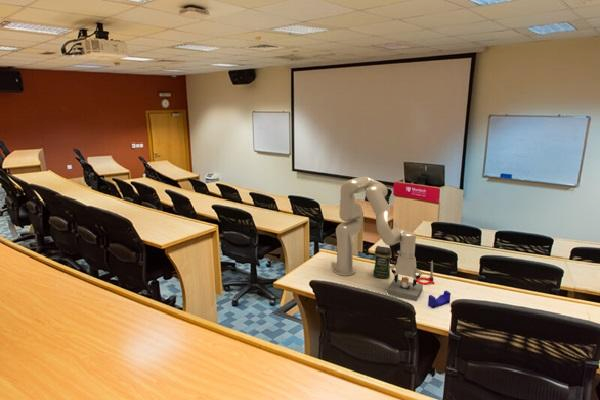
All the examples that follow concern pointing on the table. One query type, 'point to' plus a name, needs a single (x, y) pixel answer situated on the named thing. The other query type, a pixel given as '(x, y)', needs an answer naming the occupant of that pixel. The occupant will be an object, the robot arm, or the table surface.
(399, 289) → the hitch plate
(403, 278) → the orange and cream cylinder
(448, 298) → the cable clip
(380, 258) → the coffee jar
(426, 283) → the tow hook
